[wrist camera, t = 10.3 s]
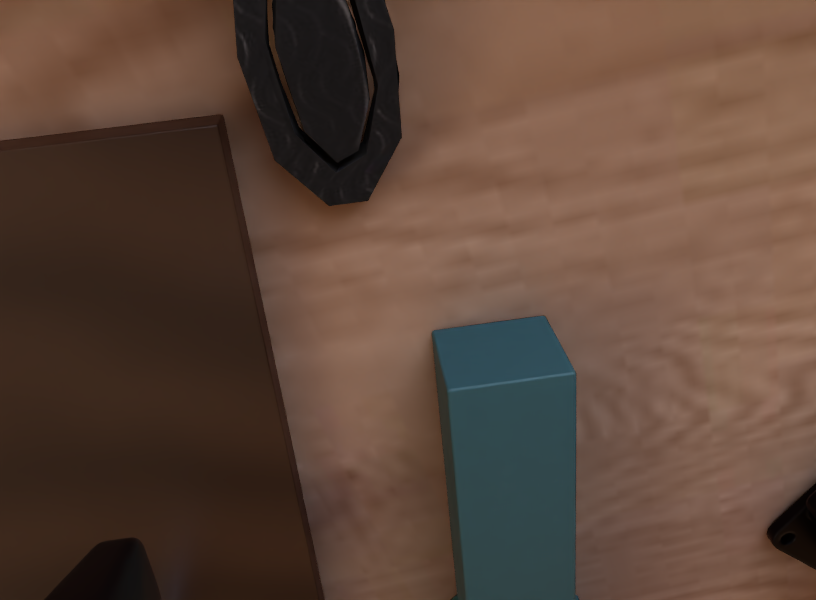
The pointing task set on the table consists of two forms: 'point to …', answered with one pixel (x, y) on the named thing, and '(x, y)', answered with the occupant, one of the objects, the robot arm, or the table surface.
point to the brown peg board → (141, 370)
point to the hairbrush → (324, 90)
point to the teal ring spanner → (509, 458)
